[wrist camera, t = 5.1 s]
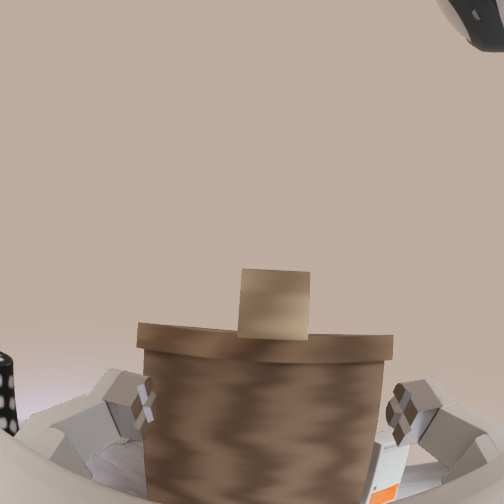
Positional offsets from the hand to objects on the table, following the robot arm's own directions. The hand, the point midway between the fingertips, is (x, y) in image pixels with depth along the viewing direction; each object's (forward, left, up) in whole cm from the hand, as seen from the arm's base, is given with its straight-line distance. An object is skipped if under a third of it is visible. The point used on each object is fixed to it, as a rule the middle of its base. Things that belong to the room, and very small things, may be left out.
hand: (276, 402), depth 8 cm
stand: (0, -21, -24) cm, 32 cm away
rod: (0, -13, +2) cm, 13 cm away
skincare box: (-17, -24, -24) cm, 38 cm away
